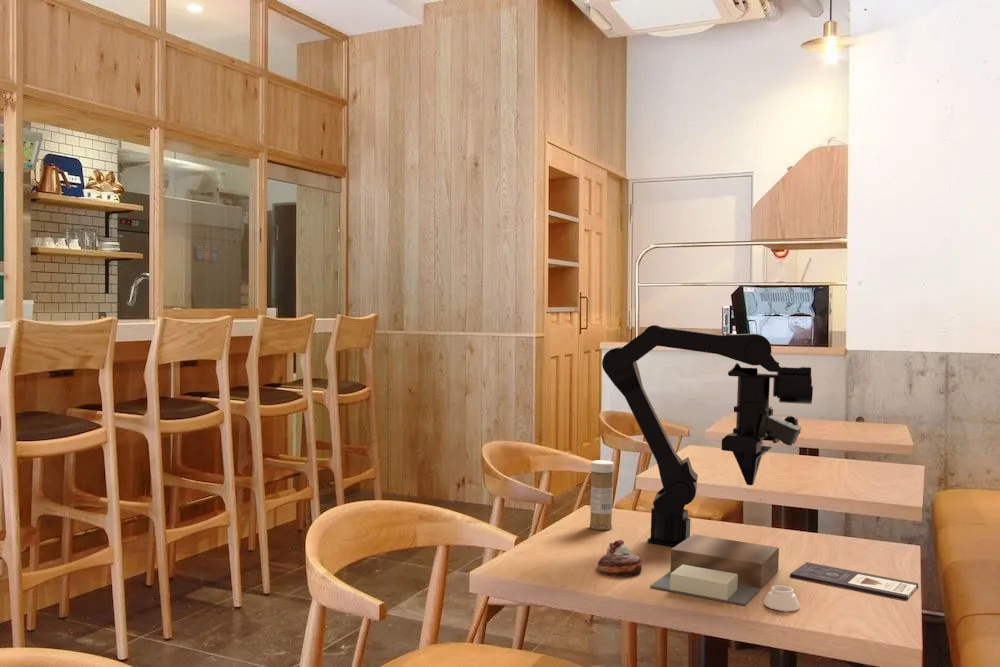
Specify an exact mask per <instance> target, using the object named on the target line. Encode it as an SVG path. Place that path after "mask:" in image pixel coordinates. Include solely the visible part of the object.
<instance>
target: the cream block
mask: <svg viewBox="0 0 1000 667" xmlns="http://www.w3.org/2000/svg"><path fill="white" fill-rule="evenodd" d="M737 584H738V574H735V573H729V572H723V571H717V570H711V569H706V568H700V567H694V566H688V565H681V566H680V567H678V568H677V569H676V570H674V571H673V572H672V573H671V574H670V590H675V591H680V592H686V593H691V594H696V595H702V596H707V597H712V598H717V599H723V600H728V599H729V598H730V597H731V596H732V595H733V594H734V593H735V592H736V591H737Z"/></svg>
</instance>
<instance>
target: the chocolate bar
mask: <svg viewBox="0 0 1000 667" xmlns="http://www.w3.org/2000/svg"><path fill="white" fill-rule="evenodd" d="M792 577H793V579H799V580H802V581H808V582H811V583H818V584H823V585H827V586H832V587H839V588H843V589H848V590H853V591H858V592H862V593H867V594H872V595H878V596H881V597H886V598H891V599H892V598H893V599H897V600H901V601H907V600H908V599H909V598H910V597H911V595H912V594H913V593H914V592H915V591H916V590H917V588H919V583H917V582H913V581H907V580H903V579H898V578H892V577H887V576H886V577H885V576H882V575H876V574H872V573H865V572H860V571H857V570H856V571H855V570H851V569H844V568H840V567H836V566H835V567H834V566H831V565H824V564H817V563H814V562H813V563H812V562H809V561H806V562H805V563H803V565H801V566H799V567H797V569H795V570H793V571H792V572H790V573H789V578H792Z"/></svg>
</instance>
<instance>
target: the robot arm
mask: <svg viewBox="0 0 1000 667" xmlns="http://www.w3.org/2000/svg"><path fill="white" fill-rule="evenodd" d="M656 347H663V348H669V349H670V348H671V349H677V350H679V349H680V350H686V351H692V352H693V351H694V352H700V353H705V354H706V353H707V354H715V355H719V356H721V357H725V358H729V359H732V360H733V361H737V363H735V365H734V366H733V367H732V368H731V369H730V370H728V372H727V375H728V376H729V377H737V394H736V397H737V398H736V405H734V406H733V413H736V417H735V418H736V421H735V422H736V423H735V424H736V427H734V428H733V429H732V432H731V433H728V434H727V435H726V436H724V437H723V438H722V439H721V450H722V451H725V452H732V454H733V455H734V458H735V460H736V462H737V465H738V467H739V469H740V472H741V474H742V476H743V479H744V482H745V484H746V485H747V486H753V485H754V484H755V480H756V477H757V474H758V469H759V468H760V464H761V460H762V457H763V456H764V455H765V454H766V453H768V452H769V451H770V450H772V448H773V447H772V446H765V442H764V441H766V442H767V441H770V442H772V443H773V444H777V443H779V442H782V444H784V445H786V446H790V447H791V446H793V444H796V442H797V440H798V437H799V435H800V434H801V430H802V426H800V425H799V422H798V421H799V420H798V417H795V416H794V415H788V416H786V417H785V418H782V417H778V416H776V415H774V408H772V406H770V390H771V389H770V385H771V382H770V381H771V379H772V380H773V381H772V382H773V383H772V384H773V385H772V397H774V398H777V399H778V403H781V404H783V403H784V404H800V405H801V404H804V405H812V403H813V396H814V394H813V392H814V390H813V389H814V386H813V384H812V383H813V382H812V380H813V379H812V368H811V367H810V366H797V367H794V366H780V362H779V361H778V360H776V359H775V358H774V356H773V355H772V344H771V342H770V341H769V340H768V338H766V337H765V336H763V335H761V334H759V333H741V334H740V333H736V334H715V333H709V332H699V331H692V330H686V329H679V328H671V327H664V326H660V325H658V324H655V325H654V324H653V325H650V326H648V327H647V328H645V330H644V331H643V332H642V333H640V334H639V335H637V336H636V337H634V338H633V339H632V340H630V341H628V343H626V344H625V345H624V346H617V347H615V348H611V349H609V350H608V351H607V352H606V353H605V354H604V355H603V358H602V361H601V366H602V369H603V371H604V372H605V374H606V376H607V377H608V378H609V379H610V381H611V382H612V383H613V385H614V386H615V387H616V389H617V390H618V391H619V392H620V394H622V395H623V397H624V398H625V400H626V402H627V404H628V407H629V409H630V410H631V412H632V415H633V416H634V418H635V420H636V422H637V425H638V427H639V428H640V431H641V432H642V434H643V436H644V439H645V440H646V443H647V445H648V447H649V450H651V453H652V455H653V457H654V459H655V460H656V461H655V462H656V463H657V469H658V473H659V477H660V480H661V485H662V488H661V489H659V491H657V492H656V494H655V496H654V499H653V502H652V505H653V507H651V514H650V516H651V517H650V537H648V538H647V543H652V544H657V545H664V546H668V547H669V546H670V547H675V546H677V545H678V544H680V543H681V542H683V541H684V540H686V539H687V538H689V537H690V536H691V518H689V509H686V508H685V506H687V505H689V504H690V503H692V502H693V500H694V499H695V497H696V494H697V489H698V477H699V474H698V473H696V471H694V469H693V466H692V464H691V460H690V458H689V456H688V457H687V456H686V457H685V458H684V459H683V460H682V458H680V456H679V455H678V454H677V452H676V451H675V449H674V447H673V446H672V443H671V441H670V439H669V437H668V435H667V433H666V431H665V428H664V427H663V425H662V423H661V420H660V418H659V416H658V414H657V413H656V411H655V408H654V407H653V405H652V403H651V400H650V399H649V397H648V395H647V392H646V391H645V388H644V386H643V382H642V378H641V373H640V369H639V366H638V361H639V360H640V359H641V358H643V357H644V356H645V355H647V354H648V353H649V352H651V351H652V350H653V349H654V348H656ZM738 362H740V363H744V364H746V365H750V366H761V367H762V368H764V369H765V370H766V371H767V372H770V373H761V372H759V373H758V367H742V366H741V365H740V364H739V363H738ZM771 372H772V373H771ZM774 373H775V374H774Z"/></svg>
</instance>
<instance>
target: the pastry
mask: <svg viewBox="0 0 1000 667" xmlns="http://www.w3.org/2000/svg"><path fill="white" fill-rule="evenodd" d="M642 568H643V560H642V559H641V558H640V556H637V555H636V554H632V552H631V550H630V548H629V547H628V545H626V544H625V543H624V540H621V539H617V540H615V541H614V542H610V543H609V545H608V547H607V549H606V554H605V555H603V556H602V557H600V559H599V560H598V563H597V571H598V572H600V573H601V574H603V575H606V576H610V577H631V576H634V575H637V574H639V573H641V571H642Z"/></svg>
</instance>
